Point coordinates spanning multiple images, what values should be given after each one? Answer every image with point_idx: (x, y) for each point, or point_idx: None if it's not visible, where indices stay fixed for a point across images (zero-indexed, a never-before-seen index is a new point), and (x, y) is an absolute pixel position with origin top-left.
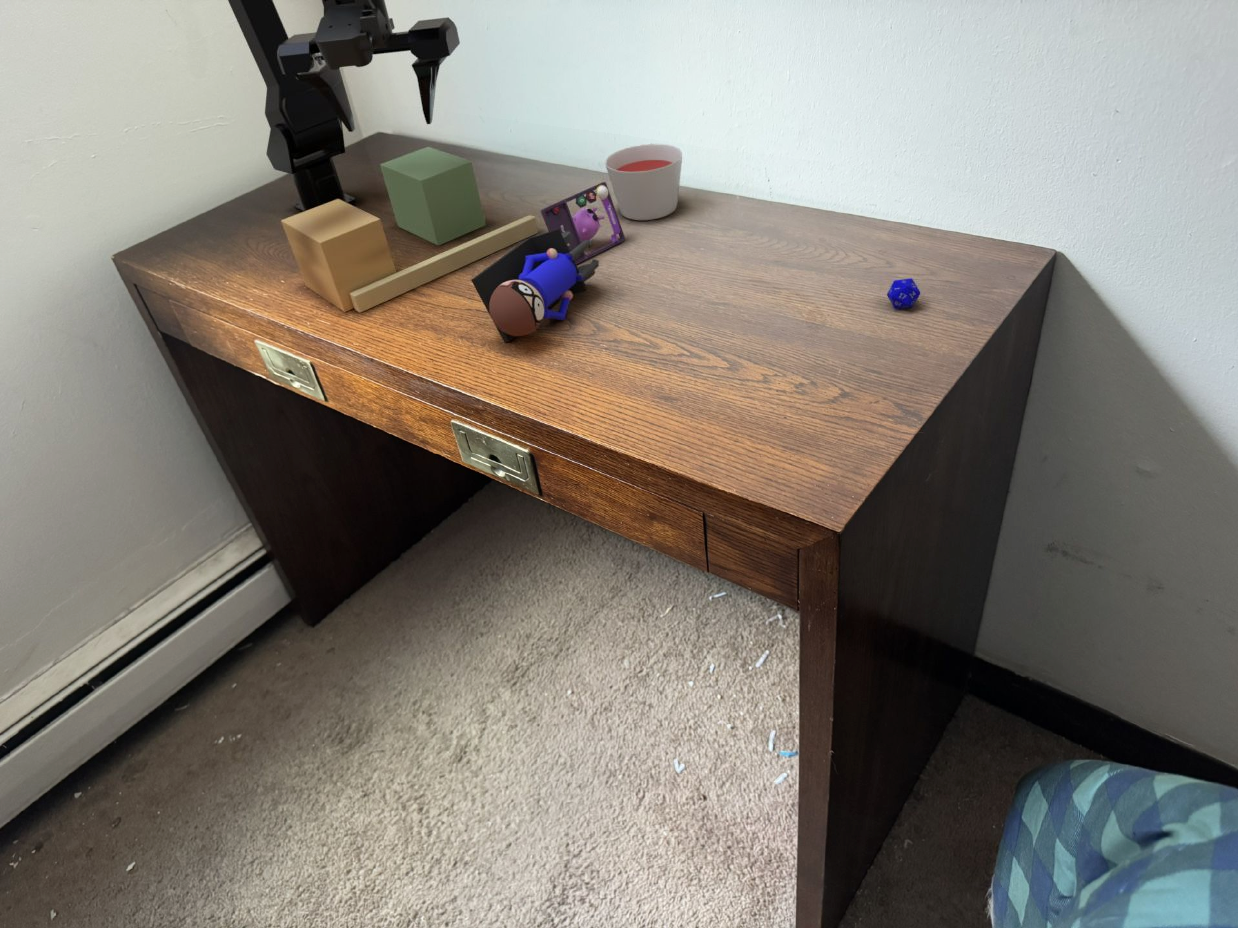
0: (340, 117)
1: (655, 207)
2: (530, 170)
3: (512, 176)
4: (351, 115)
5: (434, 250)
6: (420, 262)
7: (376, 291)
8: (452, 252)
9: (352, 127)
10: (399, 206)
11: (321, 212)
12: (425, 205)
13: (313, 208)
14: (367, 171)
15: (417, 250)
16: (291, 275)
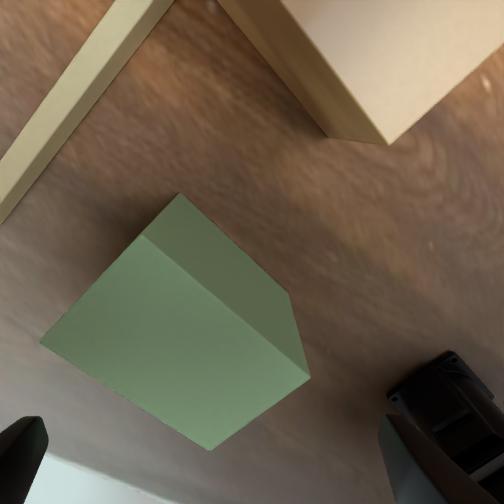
0: (458, 472)
1: None
2: (111, 450)
3: (134, 436)
4: (402, 502)
5: (183, 174)
6: (144, 6)
7: None
8: (80, 56)
9: (386, 435)
10: (270, 295)
11: (434, 12)
12: (168, 220)
13: (468, 68)
14: (385, 489)
15: (220, 181)
16: (470, 112)
